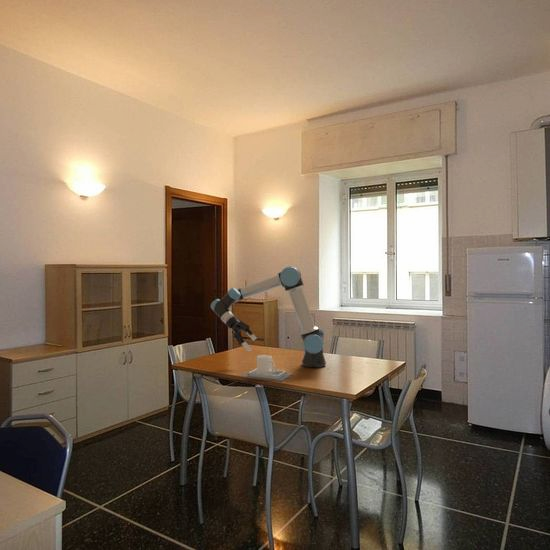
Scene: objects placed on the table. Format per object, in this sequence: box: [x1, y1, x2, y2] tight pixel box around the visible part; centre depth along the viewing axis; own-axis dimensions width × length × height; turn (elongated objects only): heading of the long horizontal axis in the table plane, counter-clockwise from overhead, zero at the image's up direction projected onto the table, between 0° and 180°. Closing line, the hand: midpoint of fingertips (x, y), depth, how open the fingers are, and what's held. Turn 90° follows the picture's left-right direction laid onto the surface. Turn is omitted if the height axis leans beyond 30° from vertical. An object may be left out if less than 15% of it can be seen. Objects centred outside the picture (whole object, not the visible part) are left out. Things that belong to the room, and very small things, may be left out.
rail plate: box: [240, 367, 293, 383], centre depth 250 cm, size 24×18×2 cm
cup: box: [256, 354, 276, 375], centre depth 250 cm, size 8×12×10 cm
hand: (252, 345), depth 266 cm, fingers open, 13 cm apart
